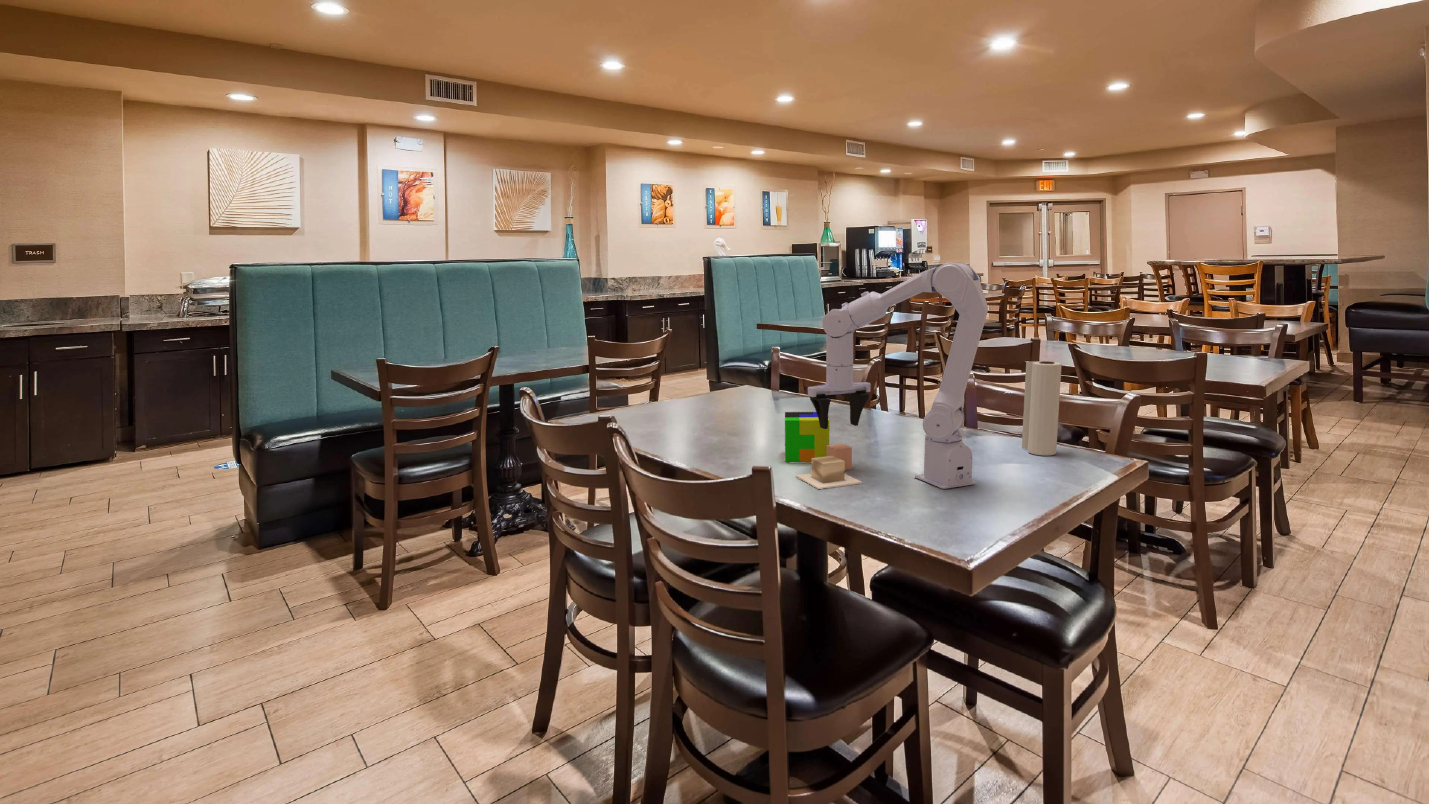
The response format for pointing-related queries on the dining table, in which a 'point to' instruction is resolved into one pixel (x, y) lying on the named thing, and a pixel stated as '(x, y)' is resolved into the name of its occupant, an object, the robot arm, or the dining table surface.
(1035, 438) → the paper towel roll
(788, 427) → the puzzle toy
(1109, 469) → the dining table surface
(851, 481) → the square frame
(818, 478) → the maple block
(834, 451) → the terracotta block
